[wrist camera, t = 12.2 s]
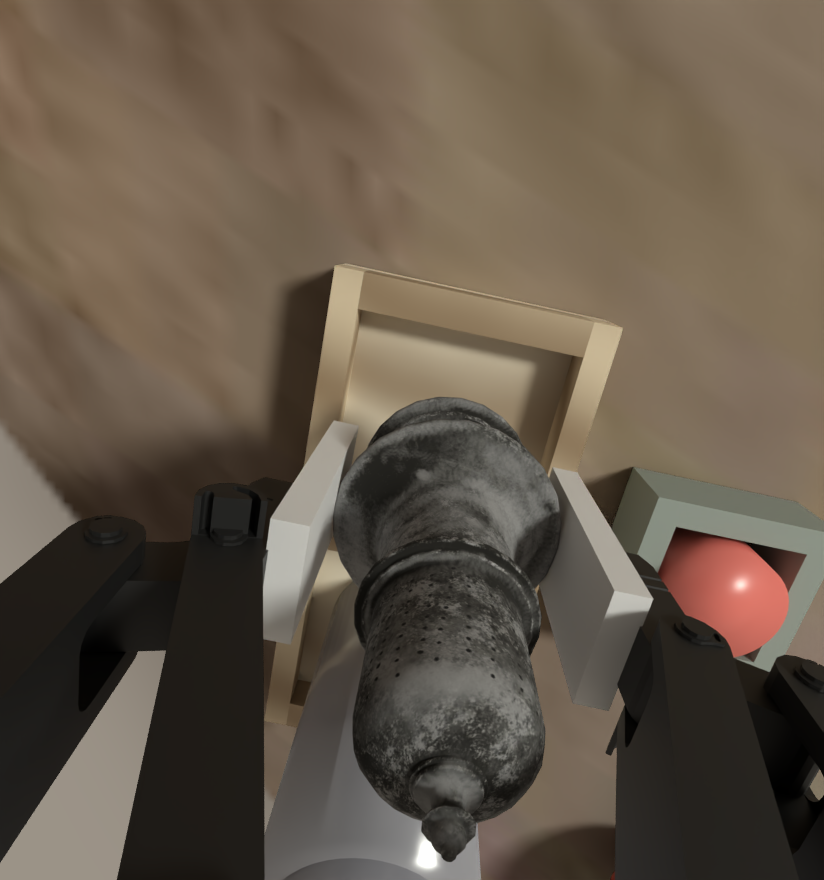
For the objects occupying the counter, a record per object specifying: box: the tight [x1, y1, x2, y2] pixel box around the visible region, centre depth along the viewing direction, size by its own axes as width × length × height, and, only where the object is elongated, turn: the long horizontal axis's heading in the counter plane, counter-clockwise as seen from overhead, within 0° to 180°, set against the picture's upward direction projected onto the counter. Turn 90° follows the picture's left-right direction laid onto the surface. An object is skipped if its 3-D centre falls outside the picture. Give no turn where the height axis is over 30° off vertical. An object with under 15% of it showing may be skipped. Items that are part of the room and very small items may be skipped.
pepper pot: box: [264, 581, 481, 880], centre depth 19 cm, size 6×6×14 cm
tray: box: [264, 264, 623, 727], centre depth 24 cm, size 20×10×2 cm, turn 168°
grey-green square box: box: [611, 467, 824, 672], centre depth 23 cm, size 7×7×3 cm
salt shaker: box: [333, 397, 562, 862], centre depth 12 cm, size 6×6×12 cm
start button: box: [658, 527, 789, 657], centre depth 23 cm, size 4×4×3 cm
